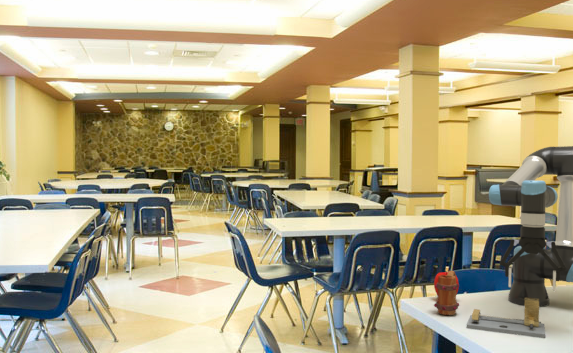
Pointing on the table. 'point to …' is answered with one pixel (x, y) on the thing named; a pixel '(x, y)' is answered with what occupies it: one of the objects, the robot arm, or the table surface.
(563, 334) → the table surface
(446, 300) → the mug
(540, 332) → the flange plate
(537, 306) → the block
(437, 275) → the apple
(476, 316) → the beam
